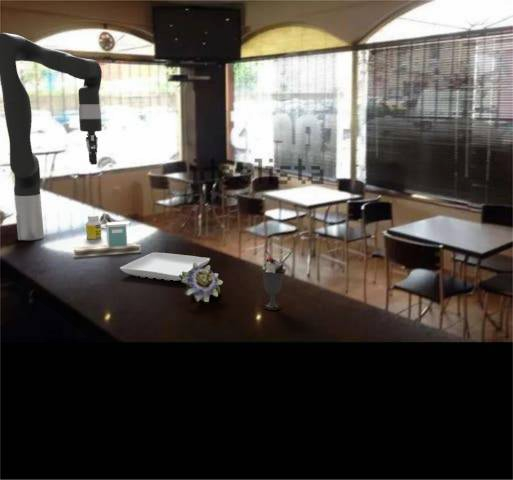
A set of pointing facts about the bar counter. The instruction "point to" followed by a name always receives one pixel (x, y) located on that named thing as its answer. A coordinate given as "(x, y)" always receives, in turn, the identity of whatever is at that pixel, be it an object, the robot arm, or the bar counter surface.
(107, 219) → the cloth
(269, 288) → the sundae
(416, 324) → the bar counter surface
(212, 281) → the passion flower
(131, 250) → the shelf board
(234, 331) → the bar counter surface
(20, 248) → the bar counter surface
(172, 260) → the salad plate
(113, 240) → the carton
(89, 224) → the supplement bottle
